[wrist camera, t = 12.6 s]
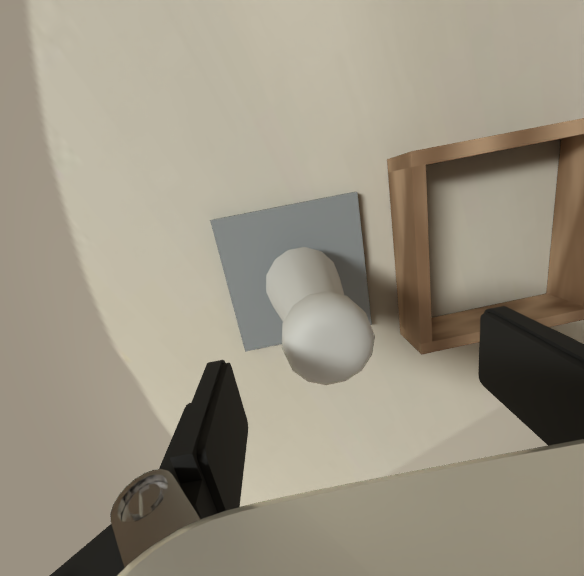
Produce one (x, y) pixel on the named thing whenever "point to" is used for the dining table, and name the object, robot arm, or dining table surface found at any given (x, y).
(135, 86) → the dining table surface
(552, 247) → the bin
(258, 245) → the mat
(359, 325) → the salt shaker
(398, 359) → the dining table surface
